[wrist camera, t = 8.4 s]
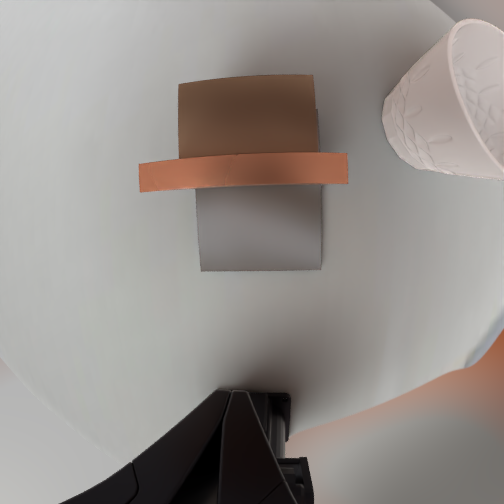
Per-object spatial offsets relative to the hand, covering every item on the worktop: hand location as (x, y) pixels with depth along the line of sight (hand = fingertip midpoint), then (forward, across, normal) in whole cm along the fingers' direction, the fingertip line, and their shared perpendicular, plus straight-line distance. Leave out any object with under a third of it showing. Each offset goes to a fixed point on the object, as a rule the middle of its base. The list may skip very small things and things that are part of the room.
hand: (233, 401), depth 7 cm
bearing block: (+13, 0, -5) cm, 14 cm away
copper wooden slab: (+12, 0, -8) cm, 14 cm away
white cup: (+13, -12, -10) cm, 20 cm away
